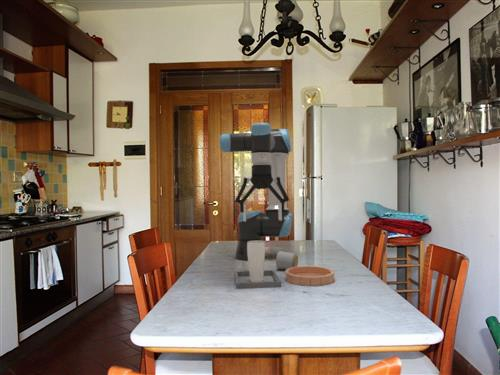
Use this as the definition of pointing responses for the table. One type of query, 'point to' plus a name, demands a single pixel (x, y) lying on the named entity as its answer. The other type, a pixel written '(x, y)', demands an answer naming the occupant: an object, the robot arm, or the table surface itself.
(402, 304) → the table surface
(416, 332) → the table surface
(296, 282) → the bowl
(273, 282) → the tray
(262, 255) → the drinking glass
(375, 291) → the table surface
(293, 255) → the ceramic mug
